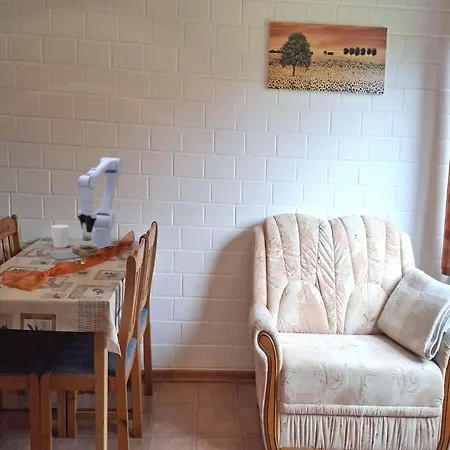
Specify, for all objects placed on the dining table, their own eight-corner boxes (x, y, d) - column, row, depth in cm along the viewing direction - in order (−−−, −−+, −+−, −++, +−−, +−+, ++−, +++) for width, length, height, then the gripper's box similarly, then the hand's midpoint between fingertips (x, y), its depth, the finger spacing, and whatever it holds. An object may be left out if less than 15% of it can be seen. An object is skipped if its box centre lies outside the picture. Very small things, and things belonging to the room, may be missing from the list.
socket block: (72, 252, 248) (72, 247, 247) (92, 250, 254) (92, 244, 254) (82, 257, 240) (82, 251, 240) (102, 254, 247) (102, 249, 246)
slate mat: (49, 255, 240) (49, 254, 240) (70, 252, 247) (70, 252, 247) (58, 260, 233) (58, 259, 233) (80, 257, 240) (80, 256, 239)
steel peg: (81, 239, 246) (81, 222, 245) (89, 238, 249) (89, 221, 247) (85, 241, 243) (85, 223, 242) (93, 240, 246) (93, 223, 244)
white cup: (51, 245, 261) (50, 224, 259) (67, 244, 265) (67, 224, 263) (53, 248, 254) (52, 227, 252) (70, 247, 258) (70, 227, 256)
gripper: (71, 200, 246) (71, 229, 248) (86, 204, 235) (86, 235, 237) (85, 199, 250) (86, 228, 253) (100, 203, 239) (100, 233, 242)
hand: (87, 231), depth 245 cm, fingers closed on steel peg, 4 cm apart
